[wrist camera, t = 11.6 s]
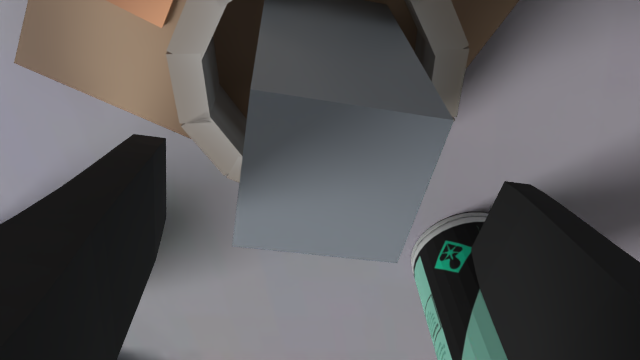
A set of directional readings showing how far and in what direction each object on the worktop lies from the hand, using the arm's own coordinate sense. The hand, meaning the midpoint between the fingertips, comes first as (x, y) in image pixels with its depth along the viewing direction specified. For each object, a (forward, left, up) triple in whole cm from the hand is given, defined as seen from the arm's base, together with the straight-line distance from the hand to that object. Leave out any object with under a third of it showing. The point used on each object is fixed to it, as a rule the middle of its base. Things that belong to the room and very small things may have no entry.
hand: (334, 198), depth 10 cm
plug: (0, 0, -8) cm, 8 cm away
